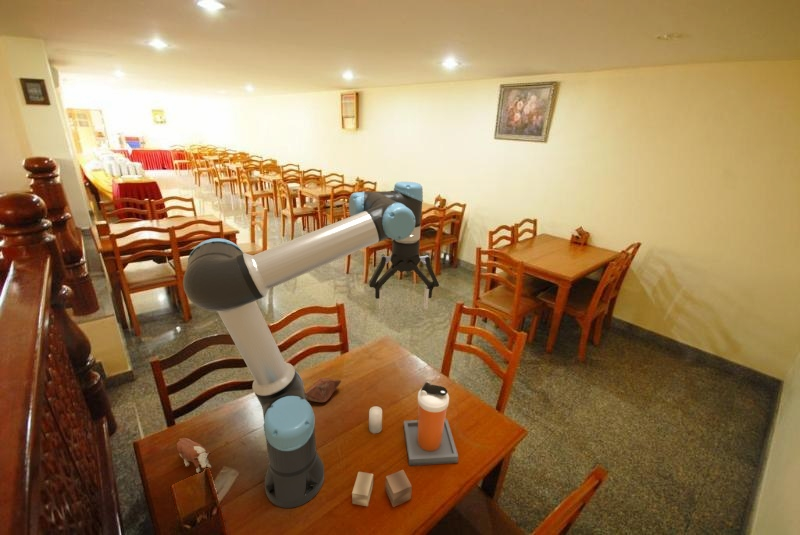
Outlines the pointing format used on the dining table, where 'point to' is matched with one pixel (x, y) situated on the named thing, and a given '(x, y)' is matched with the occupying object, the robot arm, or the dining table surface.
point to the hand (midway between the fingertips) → (403, 307)
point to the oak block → (362, 489)
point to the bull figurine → (193, 453)
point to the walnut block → (398, 488)
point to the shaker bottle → (431, 415)
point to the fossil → (322, 390)
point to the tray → (423, 457)
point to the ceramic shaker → (375, 419)
